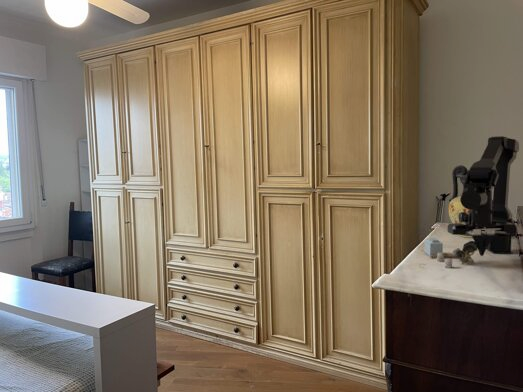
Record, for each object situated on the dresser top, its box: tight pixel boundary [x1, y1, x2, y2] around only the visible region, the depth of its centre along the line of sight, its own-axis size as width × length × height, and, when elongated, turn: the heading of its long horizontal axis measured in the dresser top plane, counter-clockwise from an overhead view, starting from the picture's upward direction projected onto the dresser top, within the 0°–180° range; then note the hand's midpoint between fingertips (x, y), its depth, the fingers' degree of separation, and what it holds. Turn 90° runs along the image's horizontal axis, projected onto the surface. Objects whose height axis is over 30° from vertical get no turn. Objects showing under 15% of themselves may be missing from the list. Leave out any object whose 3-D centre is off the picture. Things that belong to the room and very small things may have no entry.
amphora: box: [448, 164, 493, 239], centre depth 172 cm, size 18×17×30 cm
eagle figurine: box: [451, 240, 478, 265], centre depth 131 cm, size 8×7×9 cm
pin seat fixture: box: [430, 252, 461, 269], centre depth 134 cm, size 10×19×2 cm, turn 173°
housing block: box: [424, 237, 444, 257], centre depth 142 cm, size 4×7×5 cm, turn 173°
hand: (481, 255), depth 128 cm, fingers closed
